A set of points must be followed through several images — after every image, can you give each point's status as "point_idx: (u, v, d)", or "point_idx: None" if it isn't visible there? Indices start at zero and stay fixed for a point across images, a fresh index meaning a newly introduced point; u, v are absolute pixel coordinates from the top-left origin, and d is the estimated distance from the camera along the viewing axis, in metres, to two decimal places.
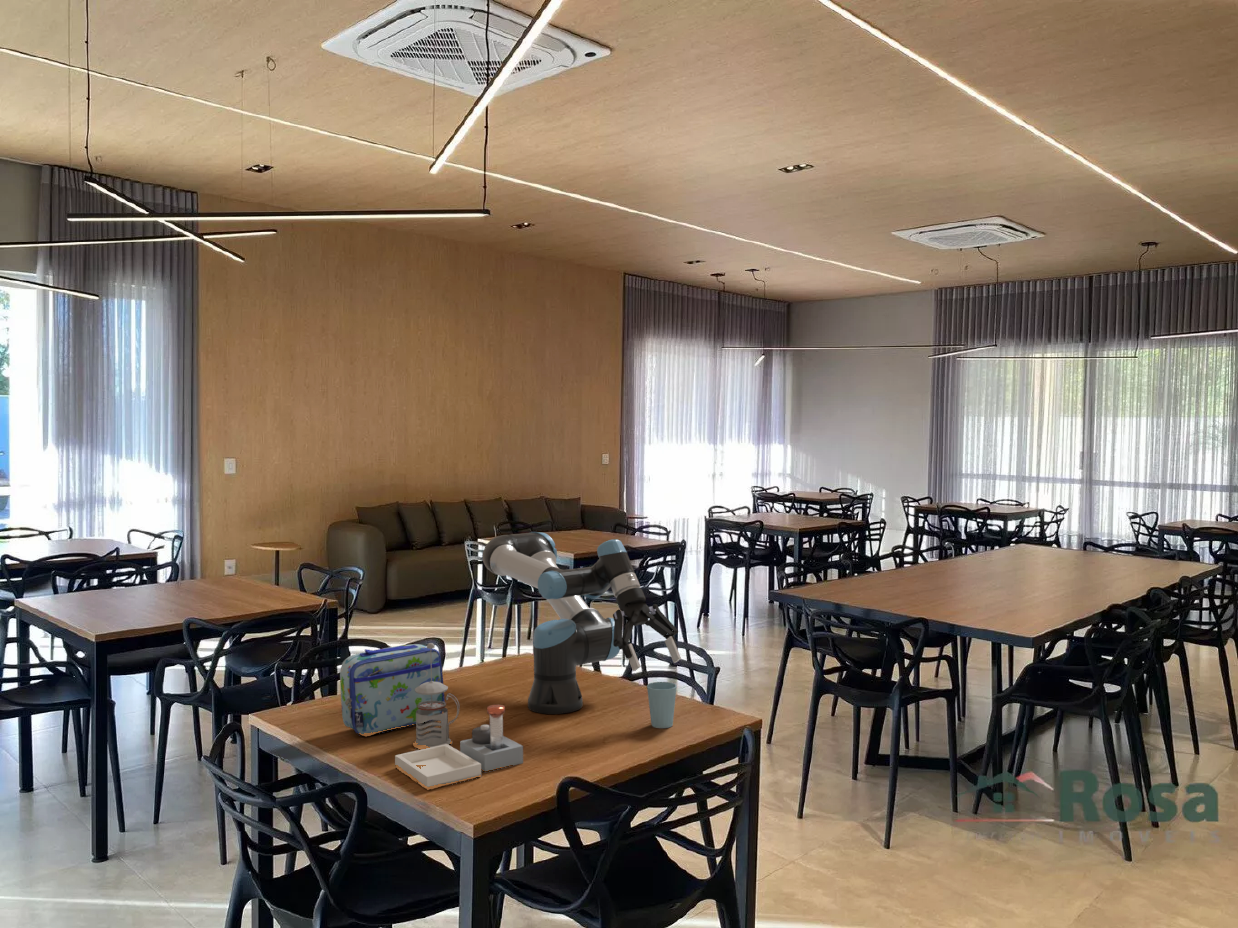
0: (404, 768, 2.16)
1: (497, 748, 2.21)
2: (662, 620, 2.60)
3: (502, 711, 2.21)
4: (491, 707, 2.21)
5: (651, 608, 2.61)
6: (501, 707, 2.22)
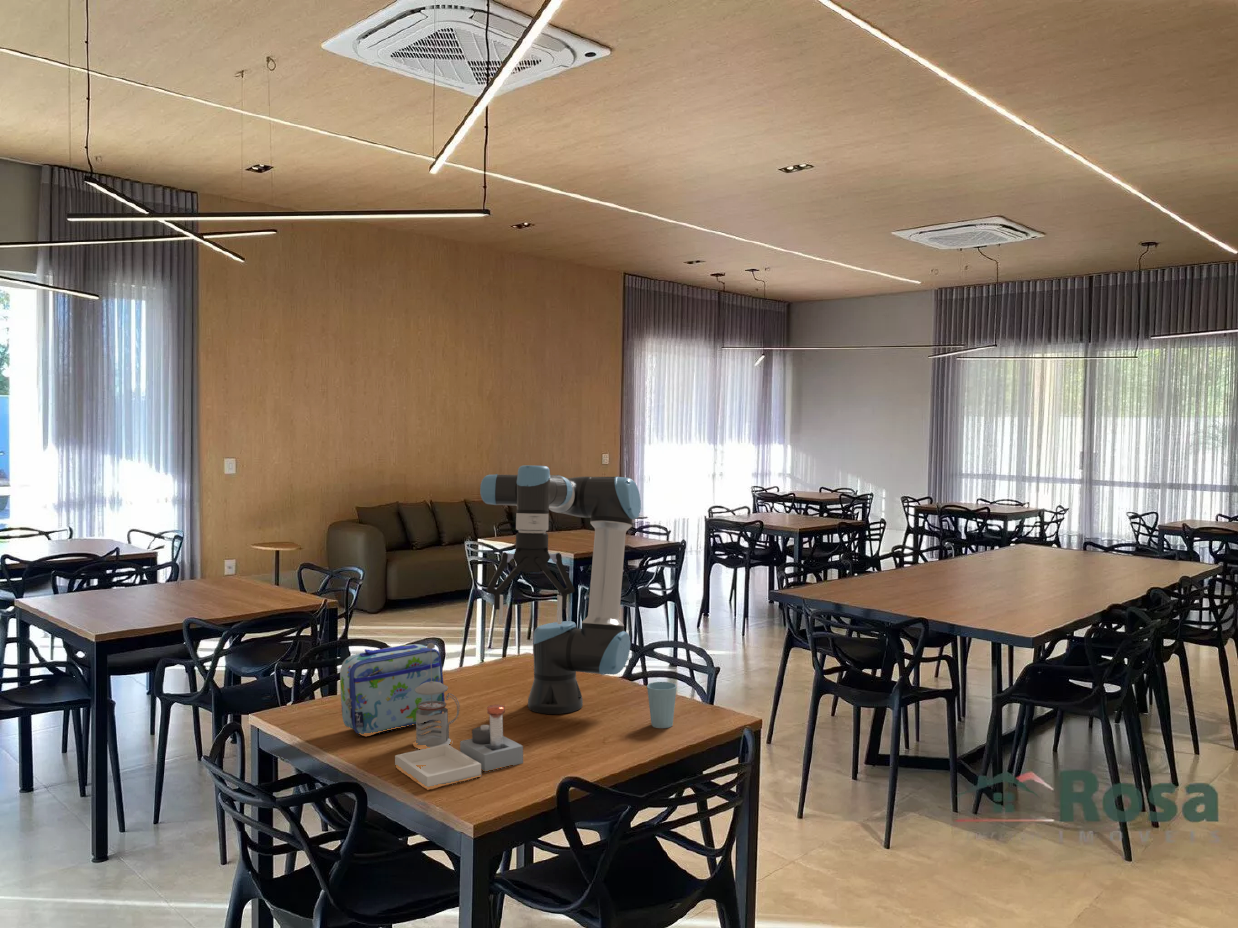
0: (404, 768, 2.16)
1: (497, 748, 2.21)
2: (561, 573, 2.24)
3: (502, 711, 2.21)
4: (491, 707, 2.21)
5: (553, 556, 2.24)
6: (501, 707, 2.22)
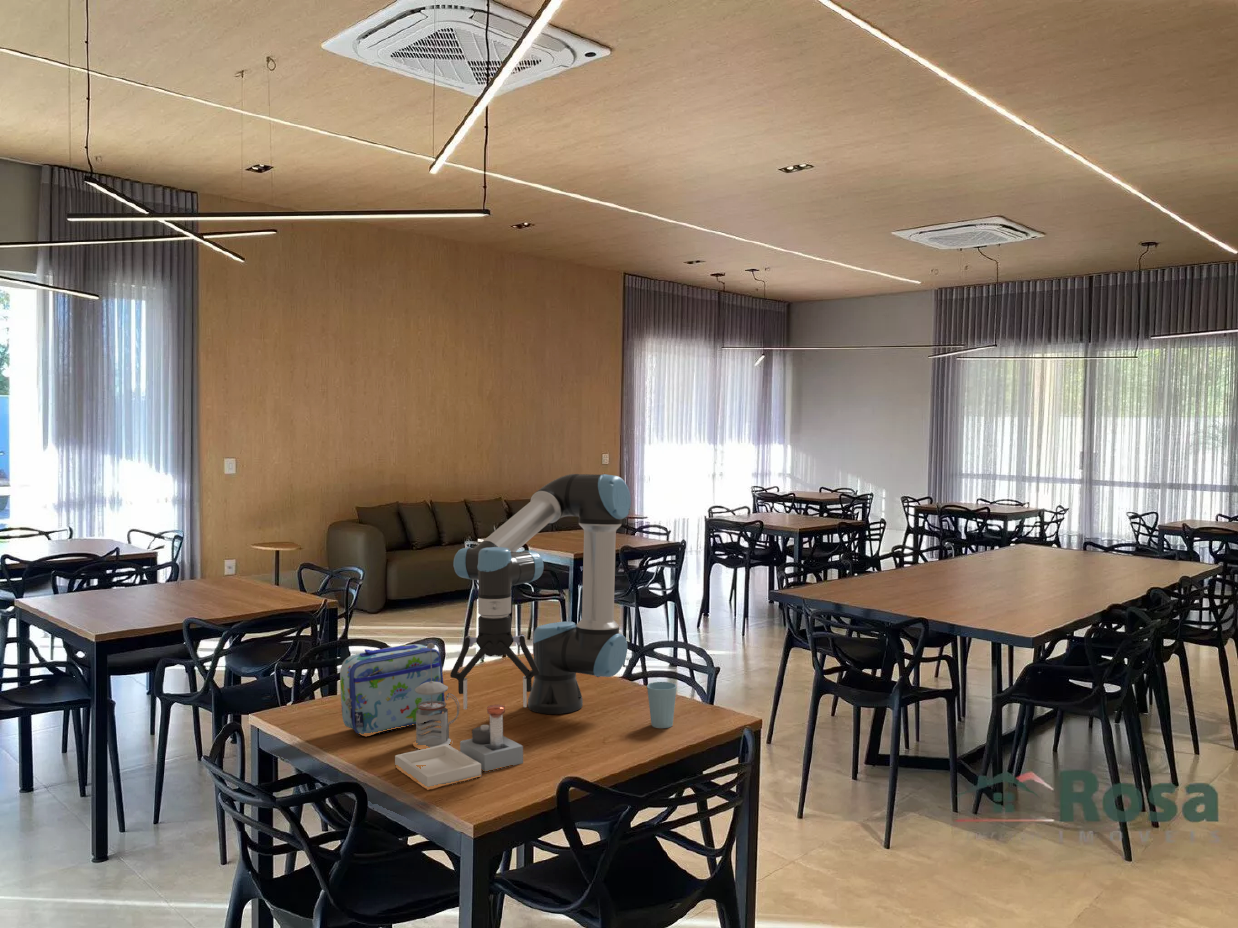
0: (404, 768, 2.16)
1: (497, 748, 2.21)
2: (525, 656, 2.22)
3: (502, 711, 2.21)
4: (491, 707, 2.21)
5: (517, 639, 2.21)
6: (501, 707, 2.22)
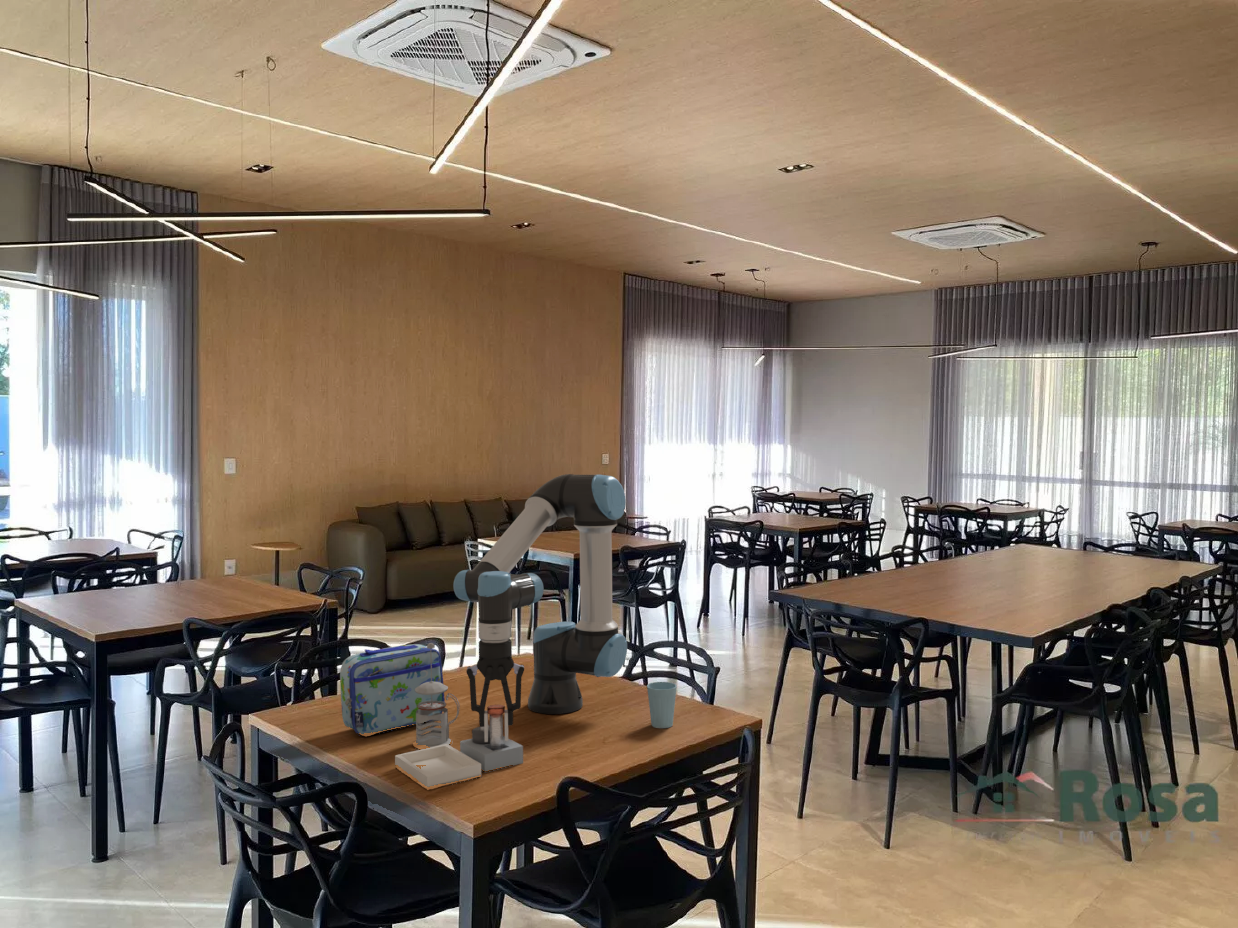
0: (404, 768, 2.16)
1: (497, 748, 2.21)
2: None
3: (502, 711, 2.21)
4: (491, 707, 2.21)
5: (516, 667, 2.22)
6: (501, 707, 2.22)
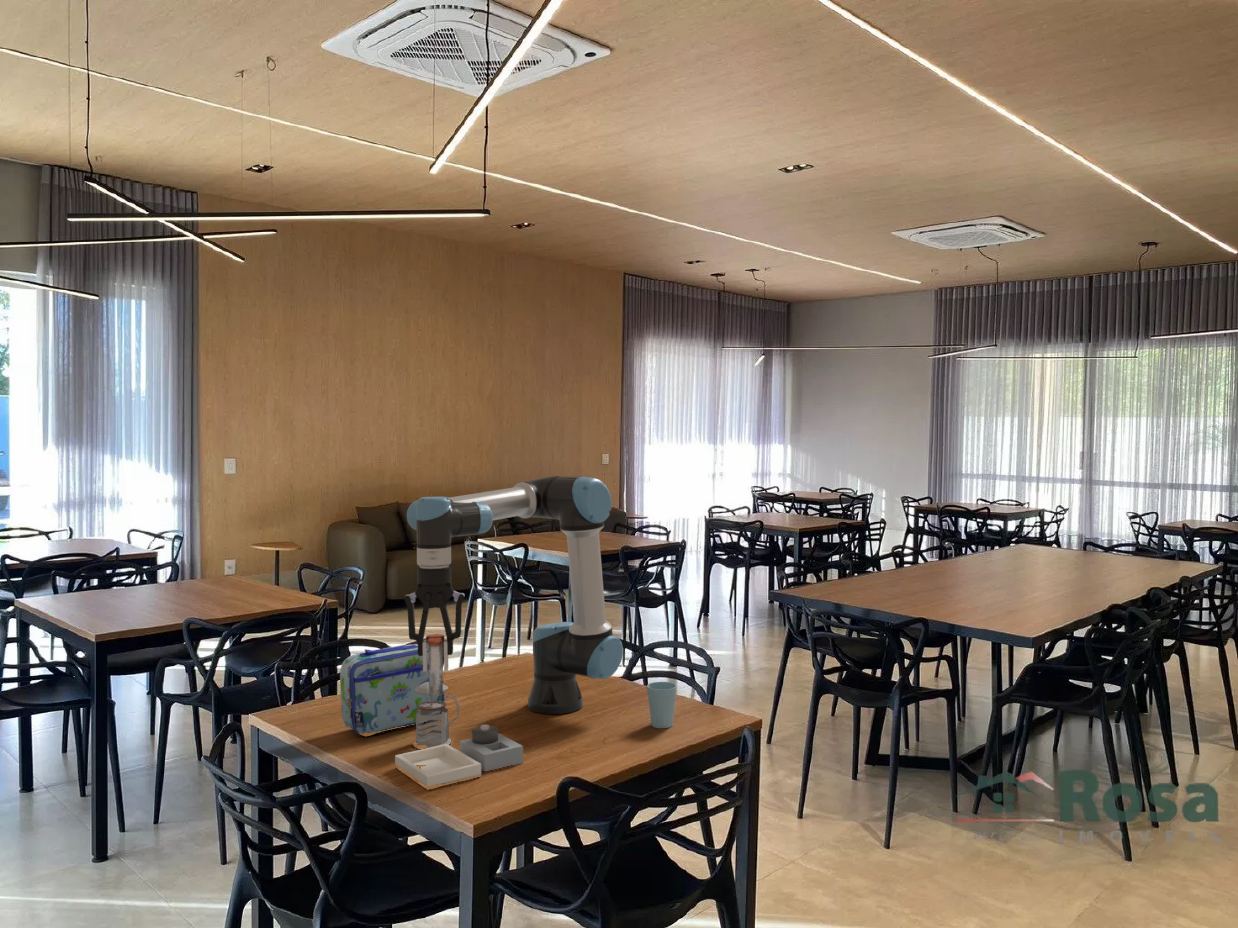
0: (404, 768, 2.16)
1: (436, 678, 2.14)
2: None
3: (441, 640, 2.14)
4: (430, 636, 2.15)
5: (456, 595, 2.15)
6: (440, 636, 2.15)
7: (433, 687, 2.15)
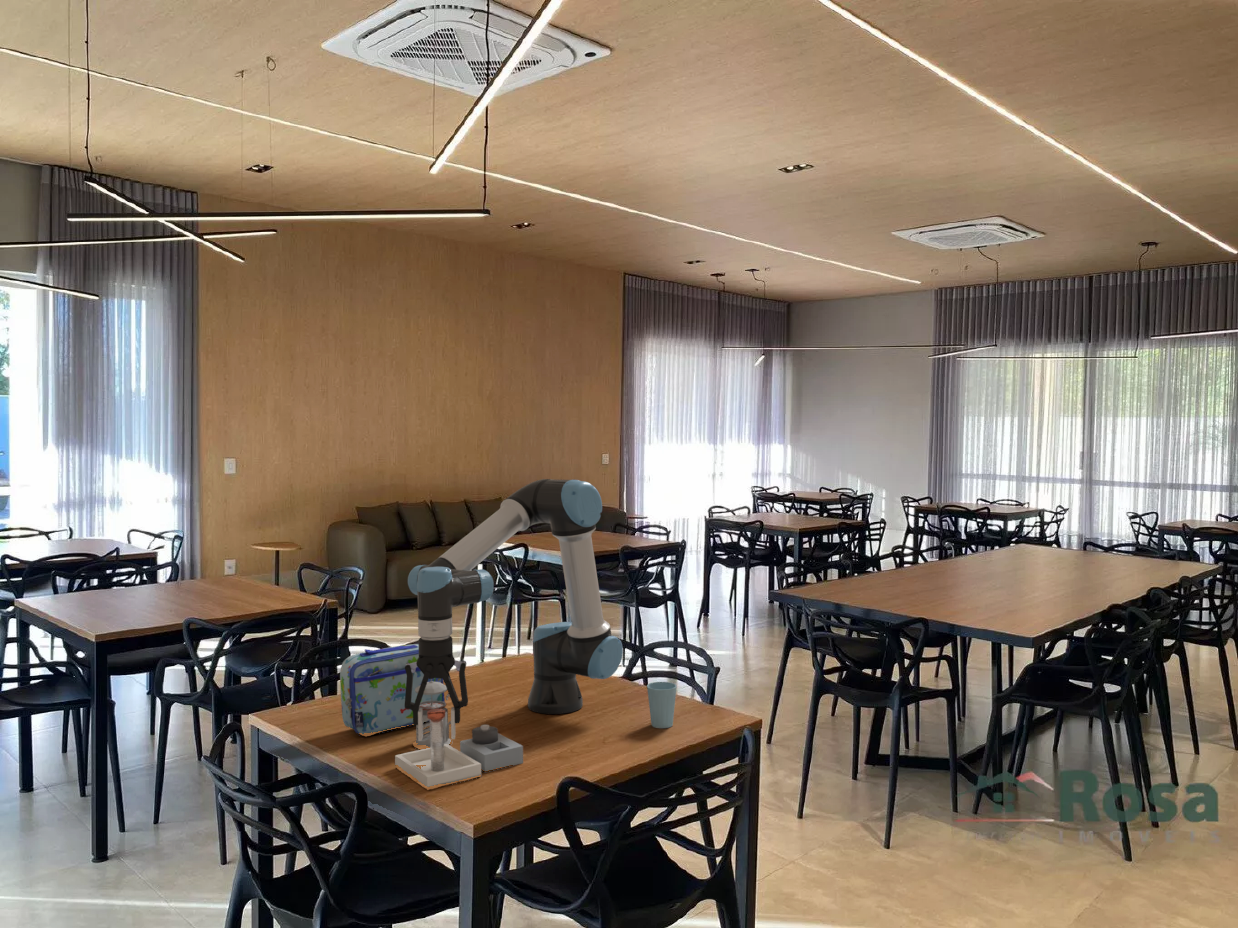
0: (404, 768, 2.16)
1: (437, 753, 2.15)
2: (460, 683, 2.16)
3: (442, 715, 2.15)
4: (431, 712, 2.16)
5: (458, 664, 2.16)
6: (441, 711, 2.16)
7: (434, 763, 2.15)
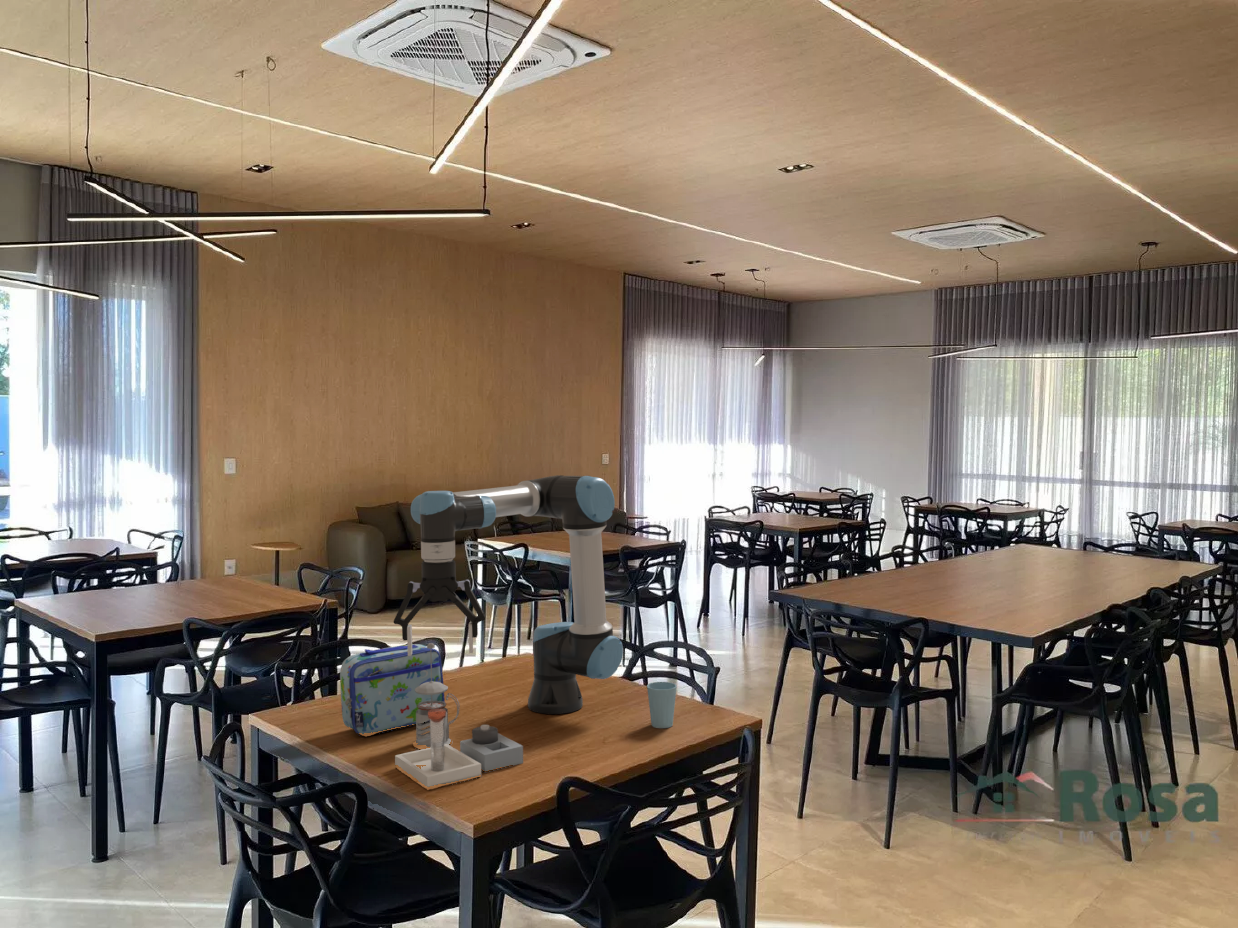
0: (404, 768, 2.16)
1: (437, 753, 2.15)
2: None
3: (443, 715, 2.15)
4: (432, 712, 2.16)
5: (461, 584, 2.16)
6: (442, 711, 2.16)
7: (434, 763, 2.15)
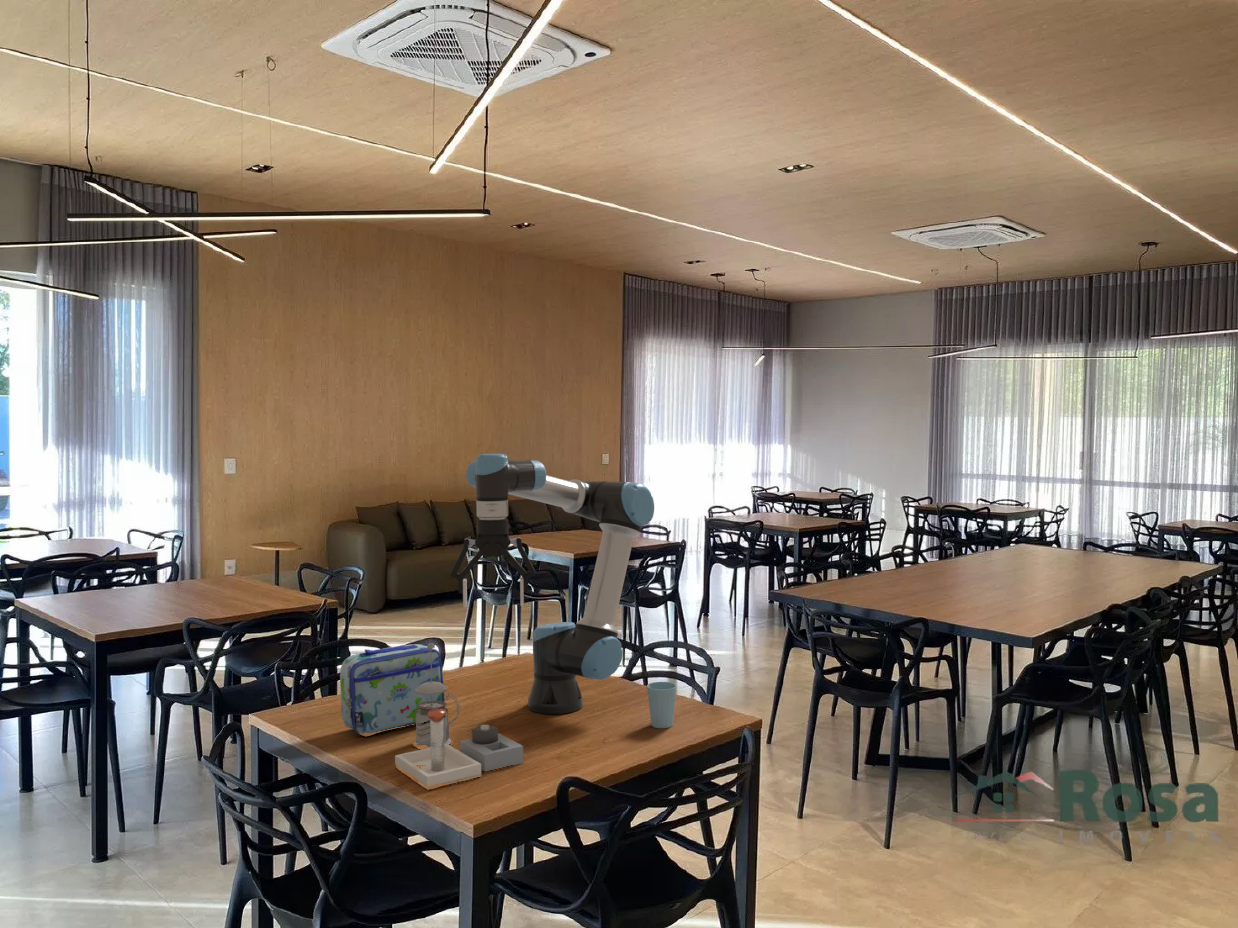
0: (404, 768, 2.16)
1: (438, 753, 2.15)
2: (522, 557, 2.31)
3: (443, 715, 2.15)
4: (432, 712, 2.16)
5: (514, 541, 2.31)
6: (442, 711, 2.16)
7: (434, 763, 2.15)
